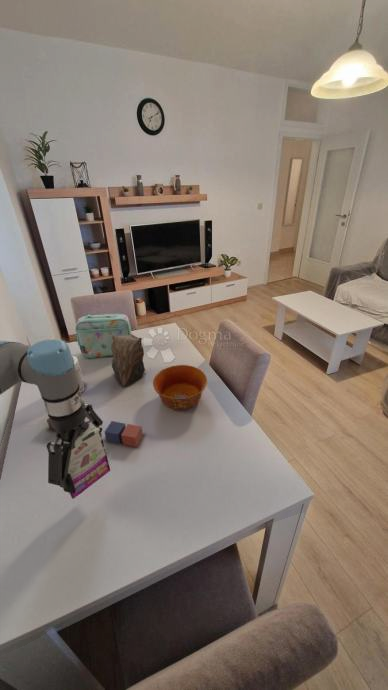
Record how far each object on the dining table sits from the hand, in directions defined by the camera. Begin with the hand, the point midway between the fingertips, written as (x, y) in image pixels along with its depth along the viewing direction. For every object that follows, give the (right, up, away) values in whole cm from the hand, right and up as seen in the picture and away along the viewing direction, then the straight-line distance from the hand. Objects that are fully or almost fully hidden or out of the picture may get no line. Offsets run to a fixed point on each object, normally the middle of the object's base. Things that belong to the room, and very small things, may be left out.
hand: (84, 468), depth 72 cm
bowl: (+23, +10, +40) cm, 47 cm away
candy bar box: (0, -4, +2) cm, 5 cm away
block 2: (+2, 0, +23) cm, 23 cm away
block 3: (+8, 0, +22) cm, 23 cm away
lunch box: (-16, +28, +71) cm, 78 cm away
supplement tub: (-23, +13, +45) cm, 52 cm away
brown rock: (-1, +17, +52) cm, 55 cm away
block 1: (-19, +3, +27) cm, 34 cm away
